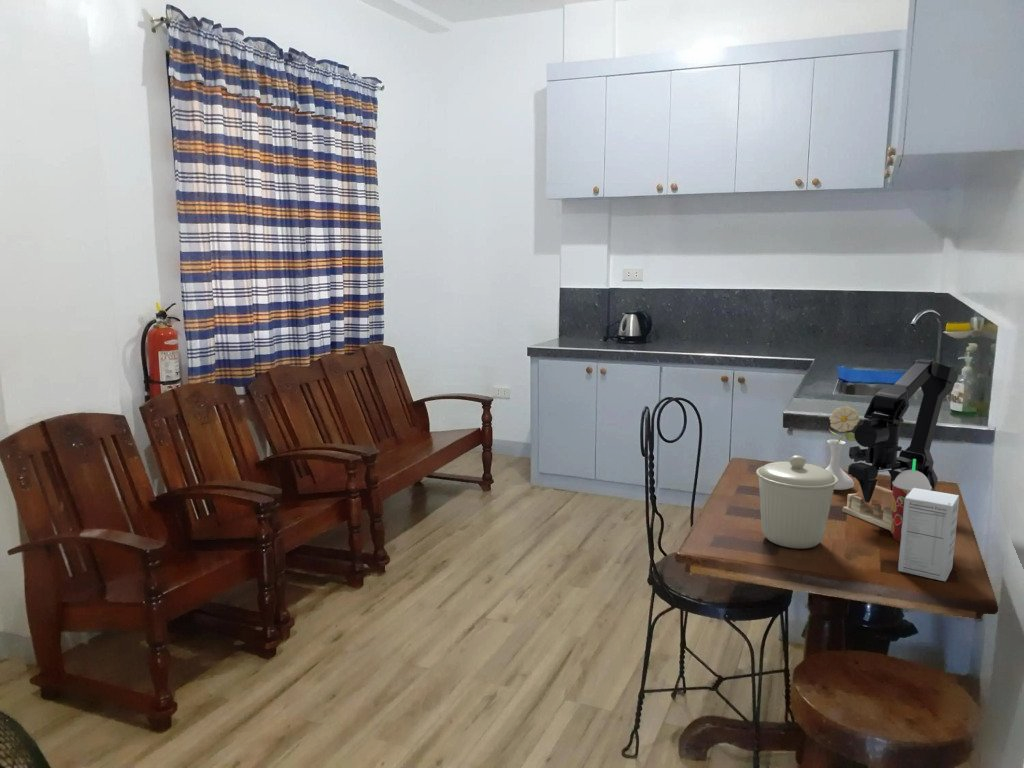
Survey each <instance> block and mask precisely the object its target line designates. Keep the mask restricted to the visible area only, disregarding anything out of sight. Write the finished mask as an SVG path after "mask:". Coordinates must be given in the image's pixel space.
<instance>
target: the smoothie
mask: <svg viewBox="0 0 1024 768" xmlns="http://www.w3.org/2000/svg"><path fill="white" fill-rule="evenodd" d="M915 466H916V459H913V465H912V470H906V471H903V472H901V473H900V474H899V475H898V476H897V477H896V478H895V480H894V481H893V482H892V484H893V488H892V521H891V531H890V533H891V534H892V537H893V539H894V540H896V541H898V542H900V543H901V529H902V522H903V511H904V501H905V497H906V496H907V495H908V494H909V493H910V491H911V490H912V489H913V488H918V489H924V490H930V491H932V489H933V488H932V486H931V485H930V483H929V480H928V479H927V477H926V476H925V475H924V474H923V473H921V472H919V471H917V470H915Z"/></svg>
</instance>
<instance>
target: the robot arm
mask: <svg viewBox="0 0 1024 768" xmlns="http://www.w3.org/2000/svg"><path fill="white" fill-rule="evenodd" d="M958 379H959V374H958V371H957V370H956V369H955V367H954V366H952V365H944V364H942V363H939V362H937V361H935V360H931V359H922V358H919V359H915V360H914V362H913V363H912V366H911V367H910V368H909V369H908V370H907V371H906V372H905V373H904V374H903V375H902V376H901V377H900V378H899V379H898V380H897V381H896V382H895V383H894V384H893V385H890V386H887V387H883V388H882V389H880V390H879V391H877V392H876V393H875V394H874V395H873V396H872V398H871V401H870V403H869V404H868V407H867V410H865V413H864V415H863V418H864V419H863V421H862V422H863V424H860V425H857V426H856V429H855V431H854V432H853V434H854V436H855V439H856V441H855V442H856V443H857V444H858V445H857V446H851V447H849V450H848V457H849V458H850V460H853V463H850V464H849V465H848V466H847V467H848V468H847V475H849V476H851V478H855V479H856V480H857V482H858V485H859V484H860V486H861V489H862V493H863V496H864V500H865V502H868V503H869V502H870V500H871V498H872V495H873V492H874V489H875V486H876V485H877V483H878V479H877V477H878V473H881V472H888V473H889V475H890V490H891V491H892V488H893V484H892V482H893V481H894V480H895V478H896V477H897V476H898V475H899V474H900V473H901V472H903V471H906V470H912V465H913V459H916V466H915V470H917V471H919V472H921V473H923V474H924V475H925V476H926V477H927V479H928V480H929V483H930V485H931V486H932V489H936V487H937V484H938V479H939V478H938V476H937V474H936V472H935V470H934V459H933V457H932V454H931V446H932V442H933V439H934V434H935V431H936V427H937V424H938V420H939V417H940V416H939V415H940V412H941V408H942V404H943V400H944V399H945V398H946V397H947V396H948V395H949V394H951V392H952V391H953V390H954V387H955V384H956V383H957V381H958ZM919 389H921V391H922V399H921V402H920V404H919V405H920V406H919V410H918V414H917V417H916V421H915V425H914V429H913V432H912V437H911V440H910V444H909V446H908V447H907V448H906V449H903V447H902V446H901V445H900V446H899V441H900V429H901V424H902V423H904V422H905V421H904V420H905V419H904V418H903V417H904V415H905V413H906V412H907V411H908V409H909V407H910V404H909V400H910V399H911V398H912V397H913V396H914V394H915V393H916V392H917V391H918V390H919ZM860 446H861V447H864V448H862V449H861V448H860ZM898 452H899V455H898ZM864 462H865V463H864Z"/></svg>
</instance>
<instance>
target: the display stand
mask: <svg viewBox="0 0 1024 768" xmlns="http://www.w3.org/2000/svg"><path fill="white" fill-rule="evenodd" d="M863 500H864V499H863V498H860V497H858V492H856V493H848V494H847V498H846V506H842V510H841V511H842V512H843V513H845V514H848V515H850V516H853V517H855V518H858V519H861V520H863V521H865V522H868V523H871V524H872V525H876V526H878V527H881V528H883V529H885V530H889V531H890V532H891V521H892V509H890V508H887V507H886V508H884V511H883V510H881V505H882V503H878V504H876V505H874V506H870V505H867V504H864V503H863Z"/></svg>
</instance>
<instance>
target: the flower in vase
mask: <svg viewBox="0 0 1024 768" xmlns="http://www.w3.org/2000/svg"><path fill="white" fill-rule="evenodd" d="M829 420H830V421H829V424H830V428H832V429H834V430H835V431H837V432H839V433H843V435H842V436H841V437H840V436H839V435H838V433H835V432H834V431H832V430H831V429H830V428H828V431H829V432H830V433H832V434H833V435H835V436H836V437H838V438H839V439H828V440H826V442H827V444H828V445H829V447H830V449H829V450H830V462H829V465H828V466H827V467H826V468H825V469H826V470H828V471H830V472H831V473H832V474H834V475H835V476H836V477H837V478H838V483H837V484H836V485H834V490H836V491H844V490H849V489H852V488H853V487H854V485H855V482H854V480H853V479H852V477H850V475H849V474H848V473H846V472H845V471H844V470H843V469H842V468H841V466H840V455H841V452H842V448H843V447H844V445H846V441H848V442H857V441H856V439H855V436H854V432H849V431H853V430H854V429H855V427H857V426H858V424H859V422H860V415H859V411H857V410H856V409H855V408H853V407H850V406H849V405H846V406H842V405H841V406H840V407H836V408H835V410H834V411H832V413H831V415H829ZM847 431H848V432H847ZM844 437H845V439H846V441H844V440H842V439H843V438H844ZM834 490H833V491H834Z"/></svg>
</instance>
